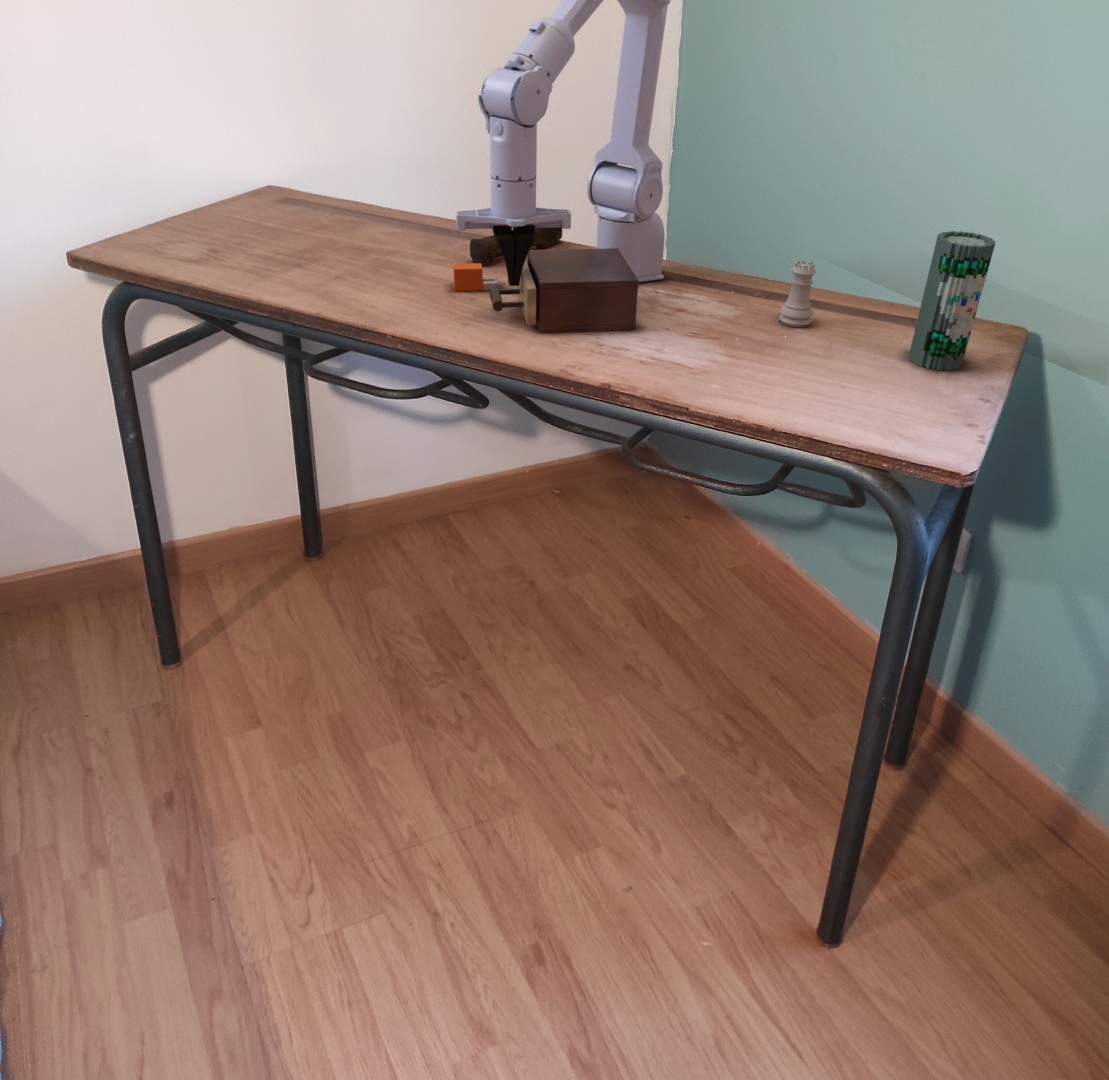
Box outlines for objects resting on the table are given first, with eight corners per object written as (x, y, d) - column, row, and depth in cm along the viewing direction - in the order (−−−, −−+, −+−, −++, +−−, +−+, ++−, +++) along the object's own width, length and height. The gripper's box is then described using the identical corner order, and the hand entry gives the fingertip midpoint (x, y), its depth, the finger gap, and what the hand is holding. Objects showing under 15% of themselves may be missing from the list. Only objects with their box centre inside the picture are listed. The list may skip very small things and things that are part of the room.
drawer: (495, 325, 123) (494, 289, 121) (487, 292, 133) (486, 258, 131) (614, 322, 125) (616, 286, 123) (597, 290, 135) (599, 256, 133)
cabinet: (539, 332, 124) (540, 282, 120) (527, 296, 135) (527, 249, 132) (635, 329, 126) (638, 280, 122) (615, 294, 137) (617, 247, 133)
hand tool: (485, 268, 145) (485, 237, 143) (468, 261, 147) (467, 231, 145) (573, 244, 156) (574, 215, 154) (556, 238, 159) (557, 210, 156)
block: (454, 291, 136) (454, 269, 135) (453, 285, 138) (453, 263, 137) (498, 290, 137) (498, 268, 135) (496, 284, 139) (496, 262, 137)
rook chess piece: (792, 330, 127) (802, 270, 122) (771, 318, 130) (780, 260, 126) (818, 325, 128) (829, 265, 124) (797, 314, 132) (807, 256, 127)
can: (932, 373, 116) (965, 249, 108) (899, 354, 121) (927, 234, 112) (971, 365, 118) (1005, 243, 110) (936, 347, 123) (967, 229, 114)
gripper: (456, 184, 115) (460, 295, 123) (576, 183, 117) (572, 292, 125) (453, 170, 121) (457, 276, 128) (567, 169, 123) (564, 274, 130)
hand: (513, 283), depth 127 cm, fingers closed
